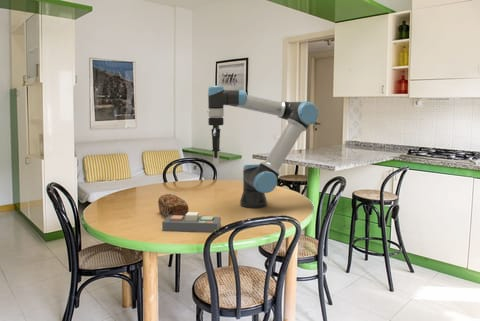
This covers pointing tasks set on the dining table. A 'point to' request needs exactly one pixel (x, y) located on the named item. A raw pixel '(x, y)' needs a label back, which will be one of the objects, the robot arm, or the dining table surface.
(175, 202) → the bread
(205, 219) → the key sage
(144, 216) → the dining table surface
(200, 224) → the keypad board
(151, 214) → the dining table surface
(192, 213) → the key cream
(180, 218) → the key terracotta
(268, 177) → the robot arm
